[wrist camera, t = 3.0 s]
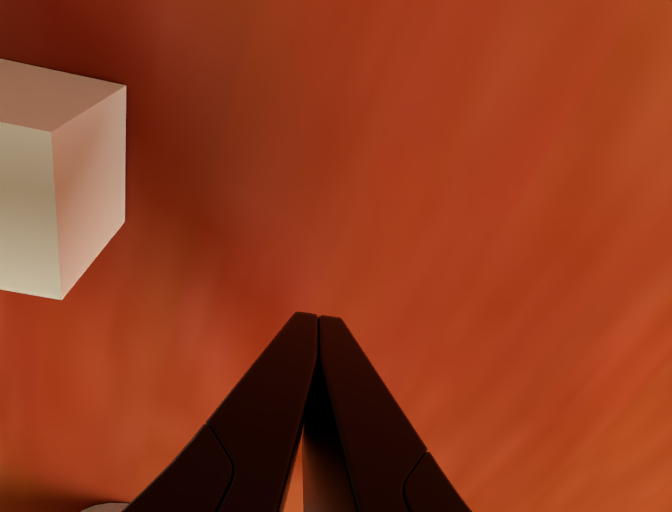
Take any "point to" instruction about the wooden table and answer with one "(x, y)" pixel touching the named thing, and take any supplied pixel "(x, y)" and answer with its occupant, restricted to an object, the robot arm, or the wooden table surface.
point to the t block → (57, 175)
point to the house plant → (106, 507)
